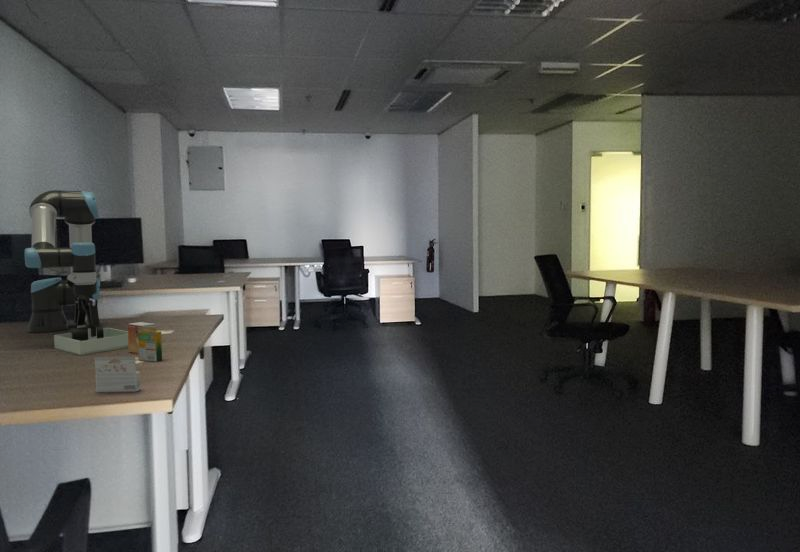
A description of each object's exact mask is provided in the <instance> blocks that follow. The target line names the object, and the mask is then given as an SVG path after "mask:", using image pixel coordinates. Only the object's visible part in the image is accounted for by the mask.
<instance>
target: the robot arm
mask: <svg viewBox="0 0 800 552" xmlns="http://www.w3.org/2000/svg"><path fill="white" fill-rule="evenodd" d="M28 214H29V217H30V218H31V247H25V249H24V265H25V267H27V268H29V269H45V268H46V269H48V268H49V269H50V268H70V274H69V275H67V277H66V280H63V279H62V277H52V278H51V277H50V278H45V279H39V280H36V281H33V282H31V284H30V293H31V295H30V296H31V316H30V319H29V323H28V325H27V331H28V332H29V333H50V332H58V331H59V332H60V331H64V330H68V329H69V323H68V320H67V318H66V315H65V314H64V313H65V312H64V308H63V307H64V306H66V307H68V306H74V310H73V311H74V316H73V322H74V324H75V325H76V326H77V327H76V328H82V327H87V328H88V340H92V339H97V326H101V324H100V316H99V310H98V309H99V308H98V301H99V299H100V294H101V293H100V291H101V281H100V279H98V278H97V269H96V267H97V265H96V245H95V243H93V237H92V235H93V233H92V231H93V230H92V226H93V225H94V224H95V223H96V219H99V217H100V216H99V210H98V205H97V199H96V195H95V193H93V192H92V191H83V190H57V189H51V190H48V191H44V192H42V193H40V194H39V195H37V196H36V197H35V198H34V199H32V201H31V203H30V205H29V209H28ZM56 218H61V219H62V218H64V223H66V224H67V225H68V235H69V247H56V237H55V236H56V235H55V234H56V233H55V232H56V230H55V229H56V228H55V227H56V226H55V220H56ZM86 319H87V322H86ZM87 324H88V326H86V325H87Z"/></svg>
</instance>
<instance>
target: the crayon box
mask: <svg viewBox="0 0 800 552" xmlns="http://www.w3.org/2000/svg"><path fill="white" fill-rule="evenodd" d="M146 328H147V329H150V331H143V329H146ZM162 343H163V342H162V331H156V326H155V327H138V351H139V354H138V361H147V362H160V361H162V360H163V350H162V349H163V348H162Z"/></svg>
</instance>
